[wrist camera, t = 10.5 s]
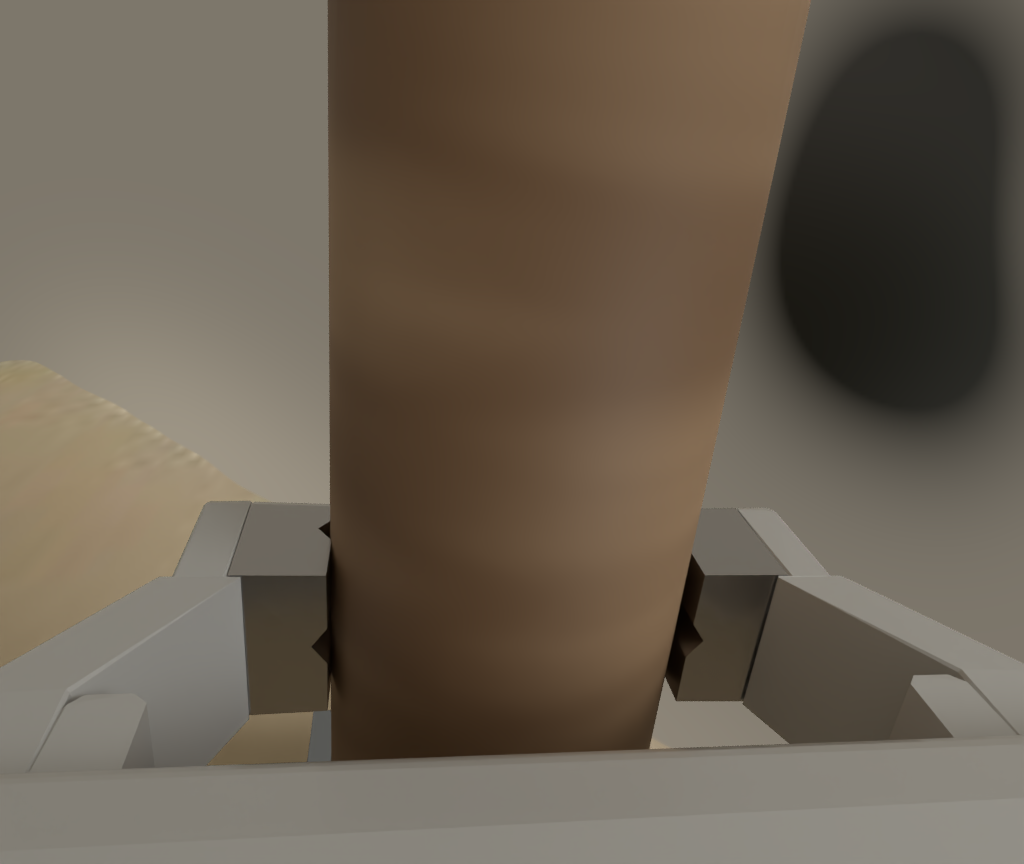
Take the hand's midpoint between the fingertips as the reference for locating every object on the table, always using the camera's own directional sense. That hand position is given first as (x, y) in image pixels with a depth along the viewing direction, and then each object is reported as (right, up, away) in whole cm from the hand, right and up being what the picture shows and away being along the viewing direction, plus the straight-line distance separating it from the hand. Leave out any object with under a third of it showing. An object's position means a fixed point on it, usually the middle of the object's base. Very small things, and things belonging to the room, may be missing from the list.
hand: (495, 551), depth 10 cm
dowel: (-1, -9, +3) cm, 9 cm away
